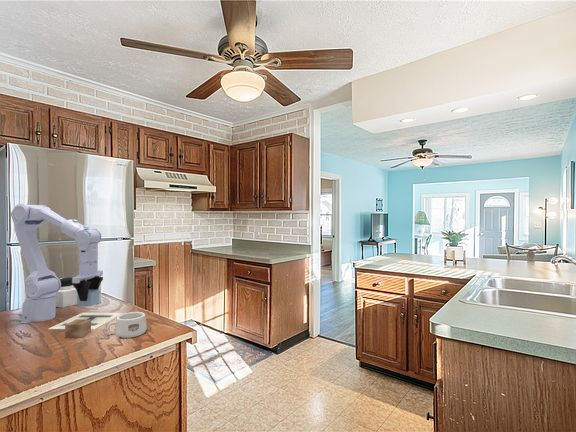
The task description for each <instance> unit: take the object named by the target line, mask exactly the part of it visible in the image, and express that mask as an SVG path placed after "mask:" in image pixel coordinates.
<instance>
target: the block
mask: <svg viewBox="0 0 576 432" xmlns="http://www.w3.org/2000/svg"><path fill="white" fill-rule="evenodd" d="M64 330H65V331H64V338H66V339H67V338H70V339H71V338H73V339H74V338H75V339H77V338H78V339H81V338H83V337H84V336H85V337H86V335H88V334H90V333H91V332H92V329H91V320H87V319H76V320H74V321H72V322H70V323H68V324H66V325H65V329H64Z"/></svg>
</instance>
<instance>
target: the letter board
mask: <svg viewBox="0 0 576 432" xmlns="http://www.w3.org/2000/svg"><path fill="white" fill-rule="evenodd" d="M121 314H123V312H80V313H79V314H77V315H74V316H72V317H70V318H67V319H66V320H64V321H62V322H59V323H57V324H55V325H53V326H51V327H49V328H48V330H65V325H66V324H68V323H70V322H72V321H74V320H76V319H87V320H91V330H96V329H98V328H99V327H101V326H103V325H104V324H106V323H108V322H111V321H112V320H113V319H116V318H117V316H119V315H121Z"/></svg>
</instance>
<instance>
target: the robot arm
mask: <svg viewBox="0 0 576 432" xmlns="http://www.w3.org/2000/svg"><path fill="white" fill-rule="evenodd" d="M10 216H11V219H12V222H13V225H14V232H15V235H16V238H17V242H18V244H19V247H20V250H21V253H22V256H23V259H24V261H25V264H26V267H27V270H28V273H29V275H27V277H26V278H25V280H24V281H23V282H24V285H25V294H26V296H27V297H26V299H24V300H23V303H22V305H21V306H22V311H21V318H22V319H21V320H22V321H20V324H28V323H30V322H34V323H35V322H37V323H38V322H45V321H50V320H53V319H55V318H56V312H57V311H56V309H57V307H56V294H57V292H58V291H59V290H60V288H61V282H60V280H59V279H60V278H58V277H57V274H56V273H55V272H54V271H53V270H50V269H49V268H48V265H47V263H46V261H45V257H44V254H43V252H42V248H41V246H40V245H41V244H40V242H39V240H38V237H37V234H36V229H37V228H39V227H40V226H42V224H43V223H44V222H45V221H46V222H48V223H50V224H52V225H53V226H56V227H58V228H60V231H61V233H63V234H65V236H68V237H70V238H72V239H74V240H75V243H76V244H77V246H78V247H77V248H78V250H79V252H78V254H79V255H78V256H79V257H78V259H79V261H78V264H79V265H78V266H79V267H78V271H79V272H78V273H79V274H78V275H75V276H74V277H71V278H72V283H73V286H74V287H73V288H75V289H76V290H77V293H78V296H79V299H80V301H87V298H88V290H89V289H99V286H100V284H101V285H102V282H103V280H104V277H103V274H104V271H103V270H98V260H99V257H98V255H99V254H98V251H99V250H98V248H99V243H100V242H101V240H102V234H101V231H99V230H98V229H96V228H91V229H90V228H89V226H88V225H83V224H81V223H80V222H79V220H78V219H67V218H65V217H63V216H61V215H60V214H58V213H56V212H55V211H53V210H52V208H50V207H48V206H46V205H45V204H24V203H18V204H16V205H15V206H14V207H13V209H12V211H11V212H10ZM99 276H101V277H99Z"/></svg>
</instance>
